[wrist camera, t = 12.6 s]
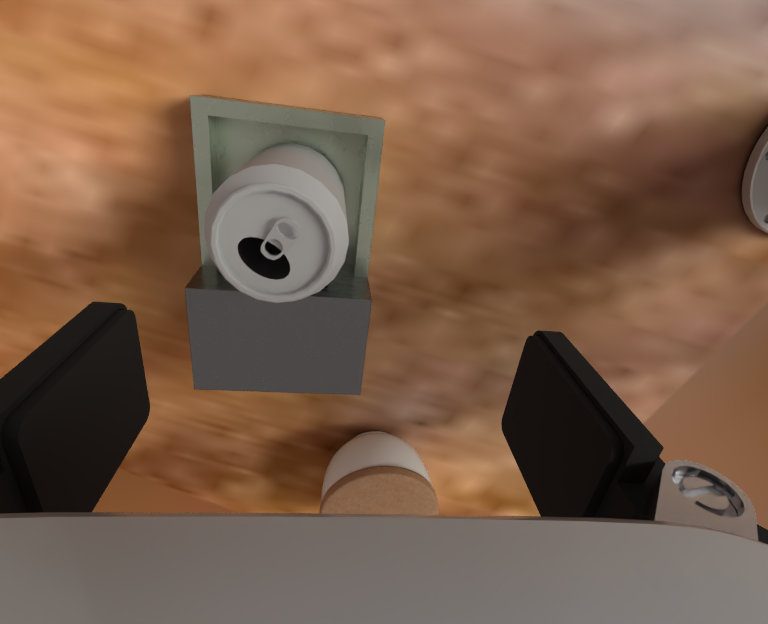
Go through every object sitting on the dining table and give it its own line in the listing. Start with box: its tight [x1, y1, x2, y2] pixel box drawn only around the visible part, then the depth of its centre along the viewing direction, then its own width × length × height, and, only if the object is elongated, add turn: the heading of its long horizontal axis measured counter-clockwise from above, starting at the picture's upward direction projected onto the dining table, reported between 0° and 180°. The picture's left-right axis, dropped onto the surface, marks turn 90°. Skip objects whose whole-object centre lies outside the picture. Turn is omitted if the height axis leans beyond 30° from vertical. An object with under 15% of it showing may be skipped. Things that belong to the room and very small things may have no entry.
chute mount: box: [185, 95, 385, 395], centre depth 31 cm, size 12×19×7 cm, turn 173°
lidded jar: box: [319, 431, 439, 515], centre depth 41 cm, size 11×11×9 cm
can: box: [204, 143, 349, 303], centre depth 27 cm, size 8×8×12 cm
